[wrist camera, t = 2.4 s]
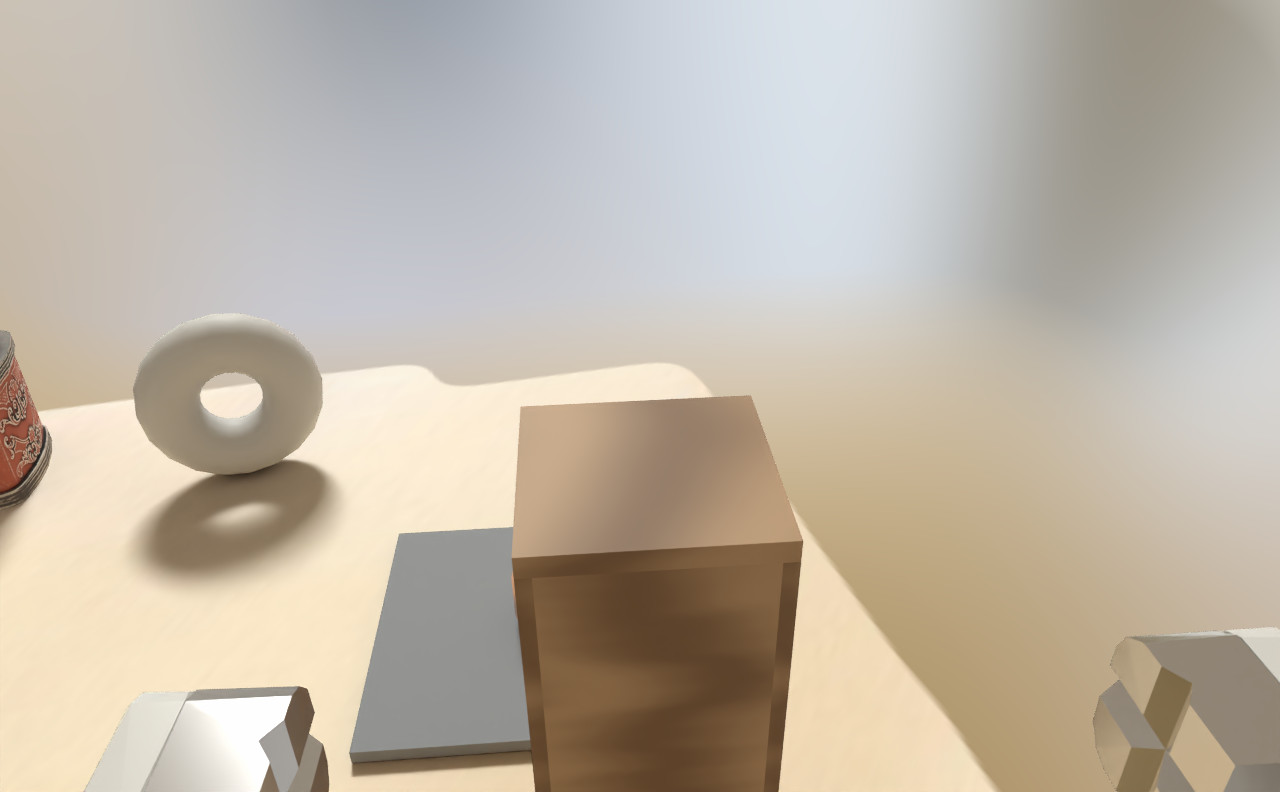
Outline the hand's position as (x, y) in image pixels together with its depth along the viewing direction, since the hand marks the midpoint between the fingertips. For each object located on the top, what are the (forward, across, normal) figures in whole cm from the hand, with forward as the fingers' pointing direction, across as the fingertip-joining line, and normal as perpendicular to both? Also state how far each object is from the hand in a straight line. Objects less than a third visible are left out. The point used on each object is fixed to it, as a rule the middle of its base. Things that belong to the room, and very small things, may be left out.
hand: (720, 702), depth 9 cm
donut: (+42, -22, -24) cm, 53 cm away
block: (+13, 0, -24) cm, 27 cm away
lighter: (+42, -36, -24) cm, 60 cm away
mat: (+27, -4, -24) cm, 36 cm away
